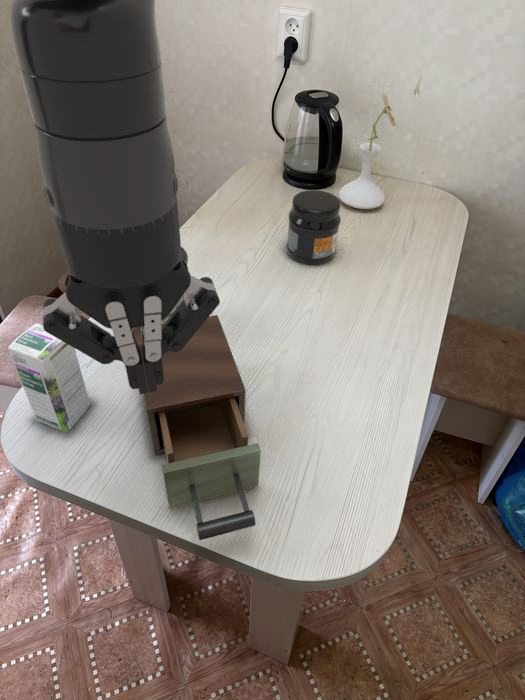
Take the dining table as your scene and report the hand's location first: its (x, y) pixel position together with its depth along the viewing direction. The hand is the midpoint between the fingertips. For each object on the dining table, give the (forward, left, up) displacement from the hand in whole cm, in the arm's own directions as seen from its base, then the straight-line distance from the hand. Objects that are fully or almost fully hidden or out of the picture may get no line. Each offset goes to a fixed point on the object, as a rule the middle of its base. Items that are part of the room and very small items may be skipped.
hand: (146, 385), depth 43 cm
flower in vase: (+60, +74, -27) cm, 99 cm away
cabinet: (+6, +20, -27) cm, 34 cm away
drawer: (+6, +7, -26) cm, 28 cm away
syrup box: (-12, +23, -27) cm, 38 cm away
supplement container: (+39, +55, -27) cm, 73 cm away
